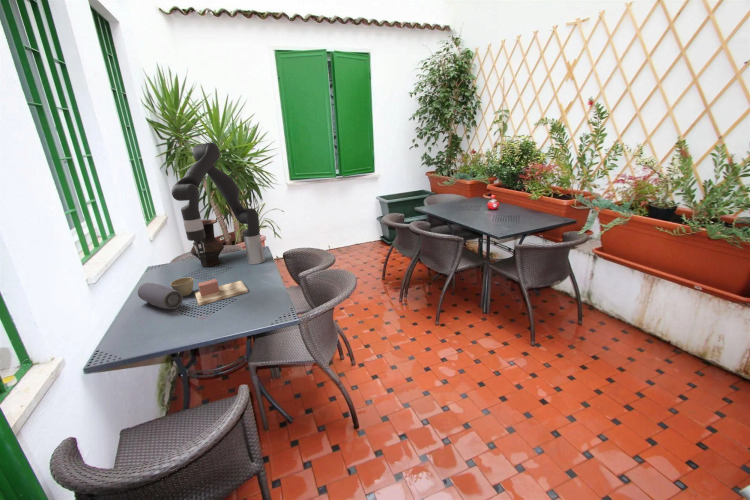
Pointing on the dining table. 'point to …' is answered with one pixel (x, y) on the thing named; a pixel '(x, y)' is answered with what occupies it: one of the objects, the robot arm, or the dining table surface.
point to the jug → (210, 245)
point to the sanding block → (208, 288)
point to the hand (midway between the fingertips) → (202, 262)
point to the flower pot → (183, 285)
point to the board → (223, 292)
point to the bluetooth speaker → (160, 295)
